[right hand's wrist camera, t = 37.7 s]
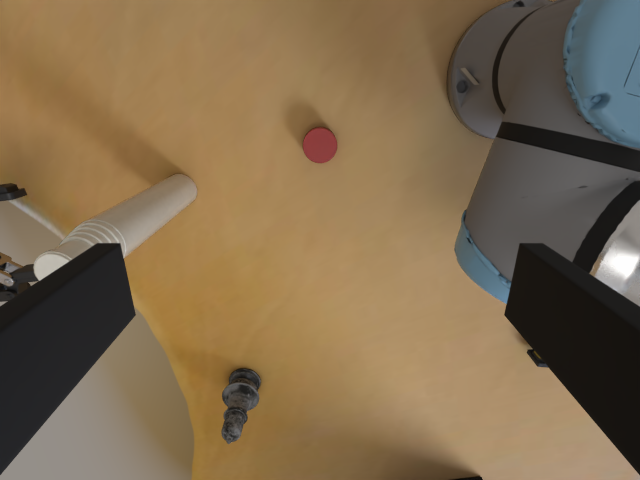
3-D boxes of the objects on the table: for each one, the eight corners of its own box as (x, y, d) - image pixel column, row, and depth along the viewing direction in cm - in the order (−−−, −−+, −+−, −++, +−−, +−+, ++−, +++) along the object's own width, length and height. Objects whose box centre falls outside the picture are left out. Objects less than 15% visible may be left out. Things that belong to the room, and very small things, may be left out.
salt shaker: (232, 397, 63) (213, 461, 52) (223, 369, 61) (201, 431, 50) (265, 392, 63) (254, 456, 52) (257, 365, 61) (243, 425, 50)
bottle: (193, 172, 49) (75, 242, 26) (200, 204, 51) (95, 297, 27) (160, 175, 50) (13, 247, 26) (168, 207, 51) (37, 302, 27)
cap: (319, 119, 47) (319, 120, 45) (343, 142, 48) (344, 144, 46) (296, 144, 48) (295, 146, 46) (320, 167, 49) (321, 170, 47)
